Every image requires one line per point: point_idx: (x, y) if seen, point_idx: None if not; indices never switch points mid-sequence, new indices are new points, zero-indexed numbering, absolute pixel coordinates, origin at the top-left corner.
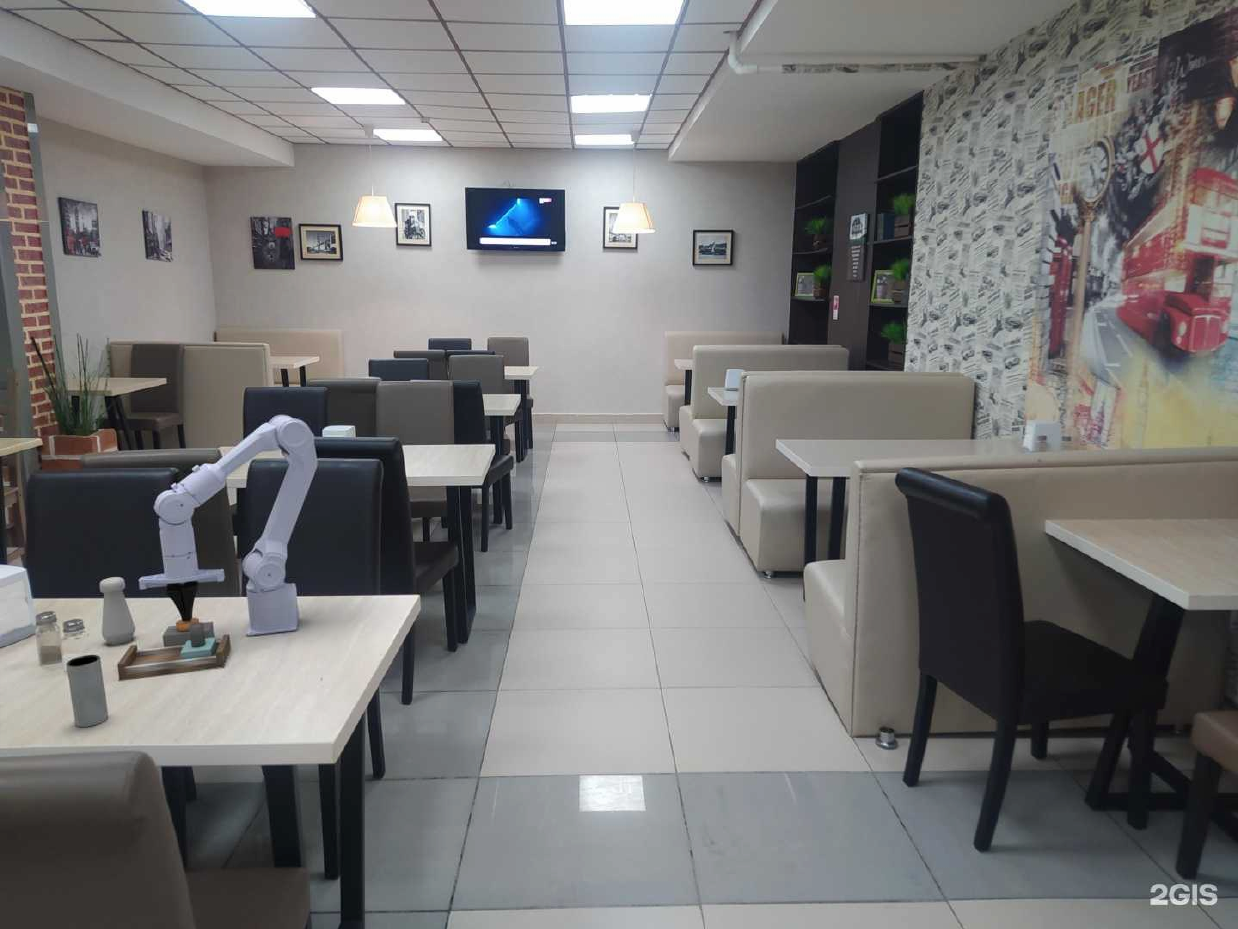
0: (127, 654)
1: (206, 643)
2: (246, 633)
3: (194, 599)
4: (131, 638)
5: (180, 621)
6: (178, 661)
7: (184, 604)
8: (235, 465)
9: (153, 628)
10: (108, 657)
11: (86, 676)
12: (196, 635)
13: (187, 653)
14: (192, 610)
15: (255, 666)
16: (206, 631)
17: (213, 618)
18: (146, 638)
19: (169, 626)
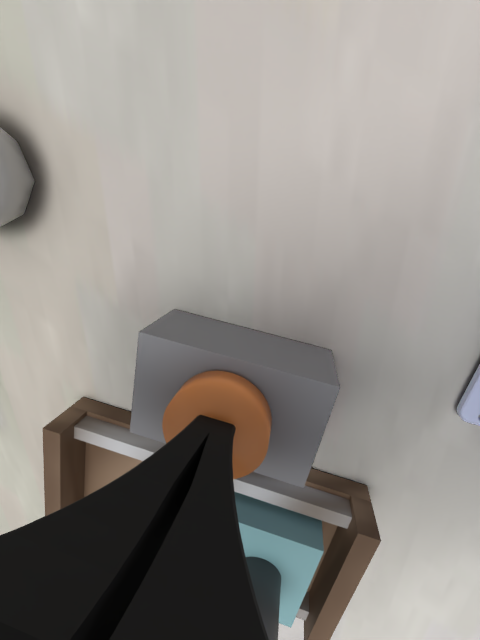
0: (53, 497)
1: (284, 579)
2: (462, 412)
3: (235, 516)
4: (29, 185)
5: (181, 415)
6: None
7: (169, 527)
8: None
9: (87, 52)
10: (10, 326)
11: None
12: None
13: None
14: (232, 450)
15: (402, 635)
16: (295, 483)
17: (373, 19)
18: (83, 194)
19: (143, 336)
